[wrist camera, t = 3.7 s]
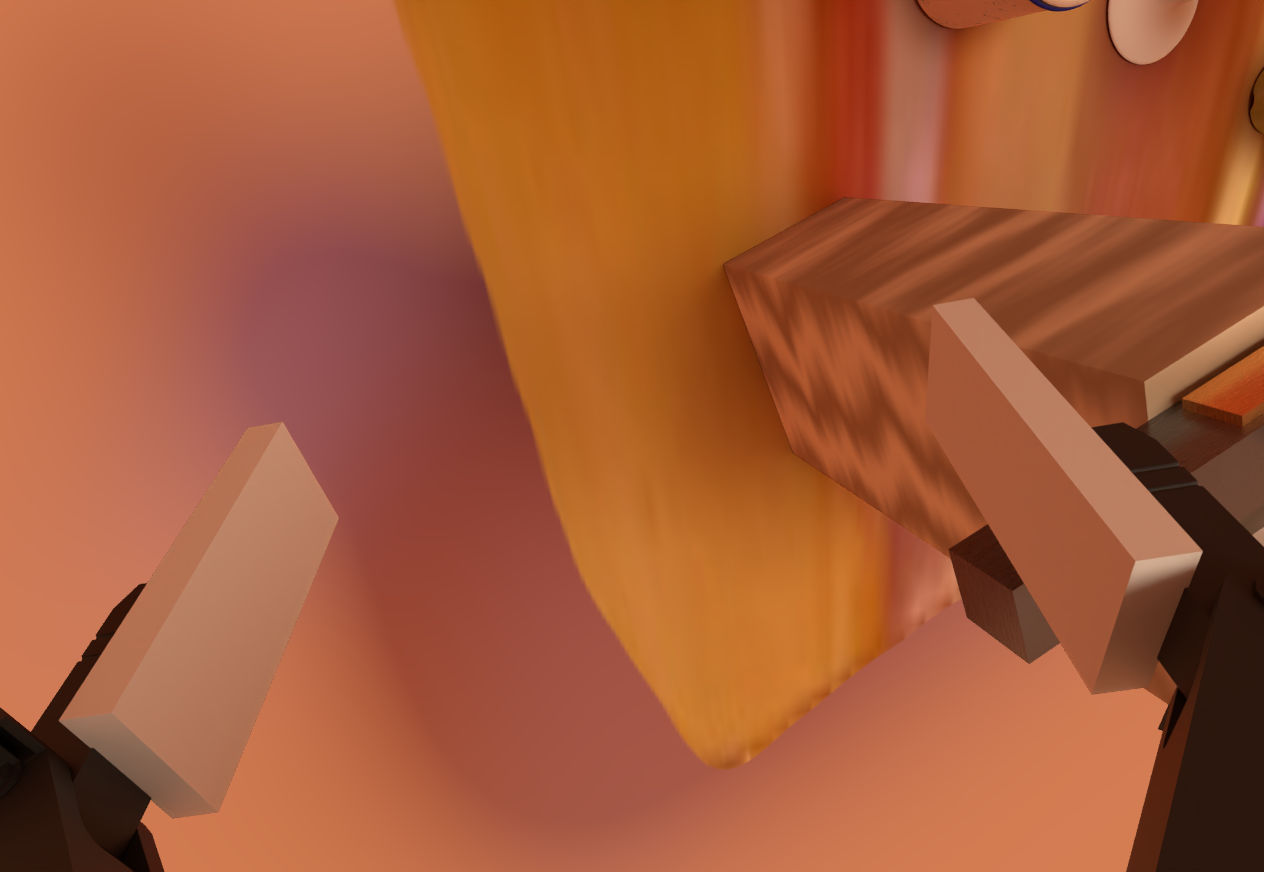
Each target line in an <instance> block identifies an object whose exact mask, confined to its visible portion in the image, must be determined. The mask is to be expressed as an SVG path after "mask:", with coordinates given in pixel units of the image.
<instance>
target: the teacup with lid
mask: <svg viewBox="0 0 1264 872" xmlns="http://www.w3.org/2000/svg"><path fill="white" fill-rule="evenodd" d="M1088 1H1090V0H918V3H919V4H920V6H921V8H922V9H923V10H924V12H925V13H926V14H927V15H928V16H929V17H930V18H931V19H932V20H934V21H935V22H937V23H938V24H940V25H942V26H945V27H948V28H953V29H963V28H969V27H973V26H978V25H982V24H987V23H991V22H996V21H1000V20H1005V19H1009V18H1014V17H1018V16H1023V15H1027V14H1032V13H1036V12H1041V11H1046V10H1049V11H1067V10H1071V9H1074V8H1077V7H1079V6H1081V5H1083V4H1085V3H1087V2H1088Z"/></svg>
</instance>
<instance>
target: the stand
mask: <svg viewBox="0 0 1264 872" xmlns="http://www.w3.org/2000/svg"><path fill="white" fill-rule="evenodd" d="M723 266H724V268H725V271H726V274H727V276H728V279H729V282H730V284H731V287H732V290H733V292H734V295H735V298H736V301H737V303H738V306H739V309H740V311H741V314H742V317H743V319H744V322H745V325H746V327H747V330H748V333H749V335H750V338H751V341H752V344H753V346H754V349H755V352H756V354H757V357H758V360H759V362H760V365H761V368H762V370H763V373H764V376H765V378H766V381H767V384H768V387H769V389H770V392H771V395H772V397H773V400H774V403H775V405H776V408H777V411H778V413H779V416H780V419H781V422H782V424H783V427H784V430H785V432H786V435H787V438H788V440H789V443H790V446H791V448H792V451H793V454H795V455H796V456H798V457H799V458H801V459H802V460H804V461H805V462H807V463H808V464H810V465H811V466H813V467H814V468H816V469H817V470H819V471H820V472H822V473H823V474H825V475H826V476H828V477H829V478H831V479H832V480H834V481H835V482H837V483H838V484H840V485H841V486H843V487H844V488H846V489H847V490H849V491H850V492H852V493H853V494H855V495H856V496H858V497H859V498H861V499H862V500H864V501H865V502H867V503H868V504H870V505H871V506H873V507H874V508H876V509H877V510H879V511H880V512H882V513H883V514H885V515H886V516H888V517H889V518H891V519H892V520H894V521H895V522H897V523H898V524H900V525H901V526H903V527H904V528H906V529H907V530H909V531H910V532H912V533H913V534H915V535H916V536H918V537H919V538H920V539H922V540H923V541H925V542H926V543H928V544H929V545H931V546H932V547H934V548H935V549H937V550H938V551H940V552H941V553H943V554H944V555H946V556H947V557H949V558H950V559H951V557H950V554H949V550H948V549H949V548H951V547H953V546H954V545H956V544H957V543H959V542H960V541H962V540H963V539H965V538H967V537H968V536H970V535H971V534H973V533H974V532H976V531H977V530H979V529H981V528H982V527H984V526H985V525H987V524H988V523H987V522H986V520H985V518H984V517H983V515H982V513H981V512H980V510H979V508H978V507H977V505H976V503H975V502H974V500H973V499H972V497H971V495H970V494H969V492H968V490H967V489H966V487H965V485H964V484H963V482H962V480H961V479H960V477H959V475H958V474H957V472H956V471H955V469H954V467H953V466H952V464H951V462H950V461H949V459H948V457H947V456H946V454H945V452H944V451H943V449H942V448H941V446H940V444H939V443H938V441H937V439H936V438H935V436H934V434H933V433H932V431H931V429H930V428H929V426H928V424H927V423H926V421H925V412H926V397H927V382H928V368H929V353H930V338H931V323H932V308H933V305H937V304H942V303H948V302H953V301H959V300H965V299H970V298H974V299H975V300H976V301H977V302H978V303H979V304H980V305H981V306H982V308H983V309H984V310H985V311H986V312H987V313H988V314H989V315H990V316H991V318H992V319H993V320H994V321H995V322H996V323H997V324H998V325H999V326H1000V327H1001V329H1002V330H1003V331H1004V332H1005V333H1006V334H1007V335H1008V336H1009V337H1010V339H1011V340H1012V341H1013V342H1014V343H1015V344H1016V345H1017V346H1018V347H1019V348H1020V350H1021V351H1022V352H1023V353H1024V354H1025V355H1026V356H1027V357H1028V358H1029V360H1030V361H1031V362H1032V363H1033V364H1034V365H1035V366H1036V367H1037V368H1038V369H1039V371H1040V372H1041V373H1042V374H1043V375H1044V376H1045V377H1046V378H1047V379H1048V381H1049V382H1050V383H1051V384H1052V385H1053V386H1054V387H1055V388H1056V389H1057V390H1058V392H1059V393H1060V394H1061V395H1062V396H1063V397H1064V398H1065V399H1066V400H1067V401H1068V403H1069V404H1070V405H1071V406H1072V407H1073V408H1074V409H1075V410H1076V411H1077V413H1078V414H1079V415H1080V416H1081V417H1082V418H1083V419H1084V420H1085V421H1086V422H1087V424H1088V425H1089V426H1090V427H1097V426H1103V425H1109V424H1115V423H1121V422H1124V423H1126V424H1128V425H1129V426H1131V427H1133V428H1135V429H1136V428H1138V427H1139V426H1141V425H1143V424H1144V423H1146V422H1147V421H1149V420H1150V419H1152V418H1153V417H1155V416H1157V415H1158V414H1160V413H1161V412H1163V411H1164V410H1166V409H1167V408H1169V407H1171V406H1172V405H1174V404H1175V403H1177V402H1178V401H1180V400H1182V398H1183V397H1185V396H1186V395H1188V394H1190V393H1191V392H1193V391H1194V390H1196V389H1197V388H1199V387H1201V386H1202V385H1204V384H1205V383H1207V382H1208V381H1210V380H1211V379H1213V378H1215V377H1216V376H1218V375H1219V374H1221V373H1222V372H1224V371H1225V370H1227V369H1229V368H1230V367H1232V366H1233V365H1235V364H1236V363H1238V362H1239V361H1241V360H1243V359H1244V358H1246V357H1247V356H1249V355H1250V354H1252V353H1253V352H1255V351H1257V350H1258V349H1260V348H1261V347H1263V346H1264V227H1256V226H1242V225H1228V224H1214V223H1200V222H1186V221H1172V220H1158V219H1144V218H1130V217H1116V216H1102V215H1088V214H1074V213H1059V212H1045V211H1031V210H1017V209H1003V208H989V207H975V206H961V205H947V204H933V203H919V202H905V201H891V200H877V199H863V198H849V197H844V198H843V199H841V200H839V201H837V202H835V203H834V204H832V205H830V206H828V207H826V208H824V209H823V210H821V211H819V212H817V213H815V214H814V215H812V216H810V217H808V218H806V219H804V220H803V221H801V222H799V223H797V224H795V225H793V226H792V227H790V228H788V229H786V230H784V231H783V232H781V233H779V234H777V235H775V236H773V237H772V238H770V239H768V240H766V241H764V242H762V243H761V244H759V245H757V246H755V247H753V248H752V249H750V250H748V251H746V252H744V253H742V254H741V255H739V256H737V257H735V258H733V259H731V260H730V261H728V262H726V263H724V264H723ZM1239 522H1240V523H1241V524H1242V525H1243V526H1244V527H1245V528H1246V529H1247V530H1248V531H1249V532H1250V533H1251V534H1252V535H1253V536H1254V537H1255V538H1256V539H1257V540H1258V541H1259V542H1260V543H1261V544H1262V545H1263V546H1264V504H1263V505H1262V506H1260V507H1259V508H1257V509H1256V510H1255V511H1253V512H1252V513H1250V514H1249V515H1247V516H1246V517H1244V518H1243V519H1241V520H1240V521H1239ZM1176 687H1177V685H1176V684H1175V683H1174V681H1173V680H1172V679H1171V677H1170V676H1169V674H1168V673H1167V672H1166V670H1165V669H1164V667H1163V666H1162V665H1161V663H1160V662H1158V664H1157V667H1156V669H1155V672H1154V674H1153V676H1152V679H1151V681H1150V684H1149V686H1148V687H1145V689H1146V690H1148V691H1149V692H1151V693H1152V694H1154V695H1155V696H1157V697H1158V698H1160V699H1161V700H1163V701H1164V702H1166V703H1167V704H1169V703H1170V701H1171V698H1172V696H1173V694H1174V691H1175V689H1176Z"/></svg>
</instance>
